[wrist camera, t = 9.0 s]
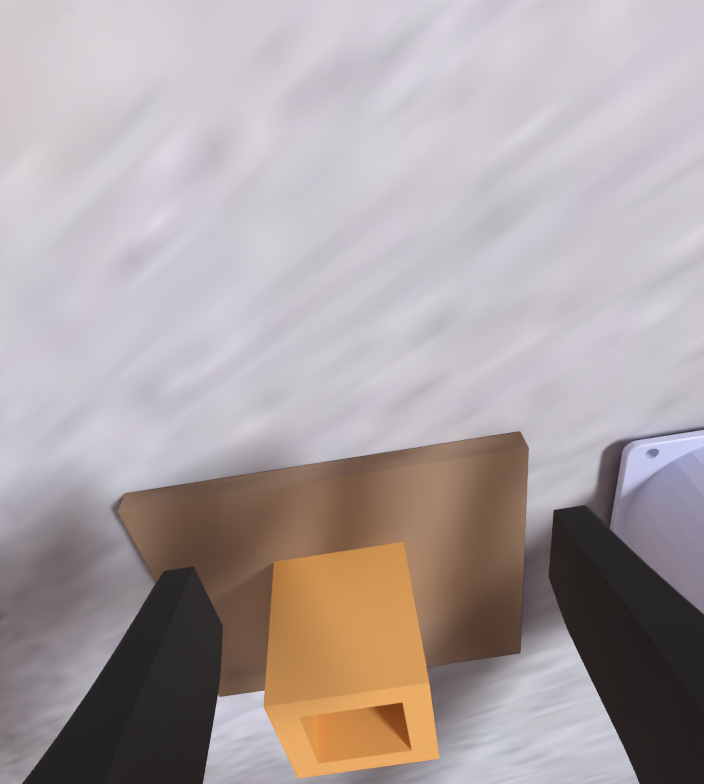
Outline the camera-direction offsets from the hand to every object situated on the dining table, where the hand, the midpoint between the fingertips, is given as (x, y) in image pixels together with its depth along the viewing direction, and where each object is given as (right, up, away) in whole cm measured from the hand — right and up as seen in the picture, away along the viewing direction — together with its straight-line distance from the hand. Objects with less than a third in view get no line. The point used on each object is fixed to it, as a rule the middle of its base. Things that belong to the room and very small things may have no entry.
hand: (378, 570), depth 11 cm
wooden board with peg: (-1, -5, +14) cm, 15 cm away
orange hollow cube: (-1, -5, +14) cm, 15 cm away
